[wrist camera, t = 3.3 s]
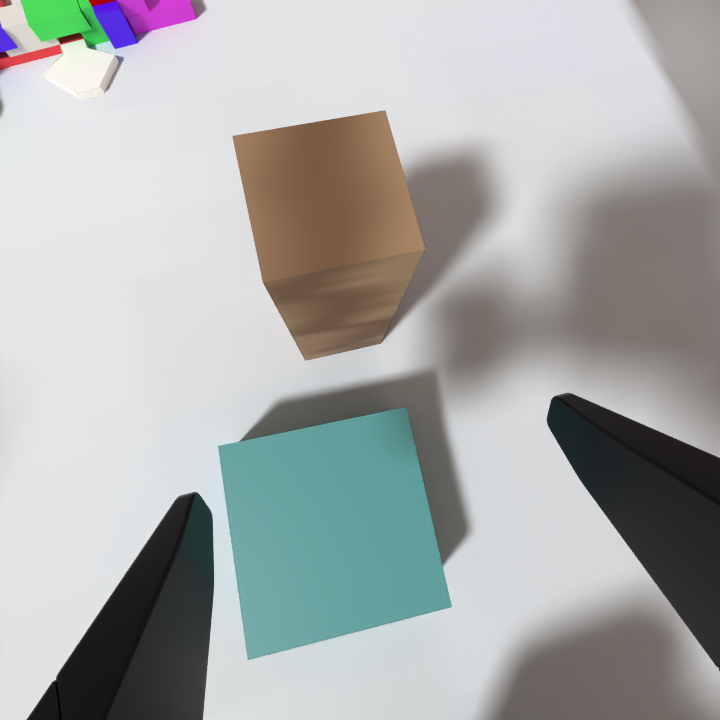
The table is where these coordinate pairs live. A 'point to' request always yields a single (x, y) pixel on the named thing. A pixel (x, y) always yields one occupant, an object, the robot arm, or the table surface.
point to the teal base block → (330, 531)
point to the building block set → (81, 35)
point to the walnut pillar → (331, 228)
